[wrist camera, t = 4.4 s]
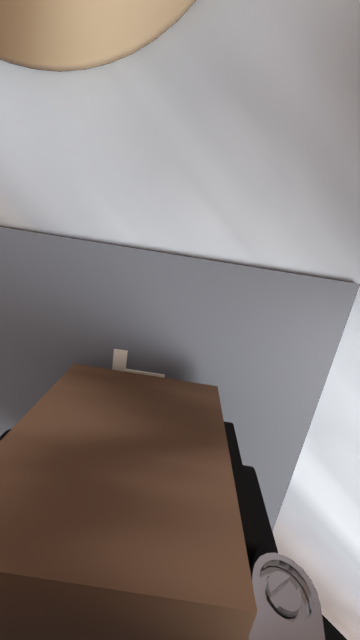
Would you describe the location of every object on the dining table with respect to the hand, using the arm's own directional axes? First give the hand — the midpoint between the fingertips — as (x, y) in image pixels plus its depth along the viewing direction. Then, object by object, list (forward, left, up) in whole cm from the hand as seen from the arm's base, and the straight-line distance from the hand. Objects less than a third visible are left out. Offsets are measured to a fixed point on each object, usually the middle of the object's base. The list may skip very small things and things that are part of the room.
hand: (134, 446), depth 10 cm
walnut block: (0, 0, -1) cm, 1 cm away
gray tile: (0, -1, -2) cm, 2 cm away
